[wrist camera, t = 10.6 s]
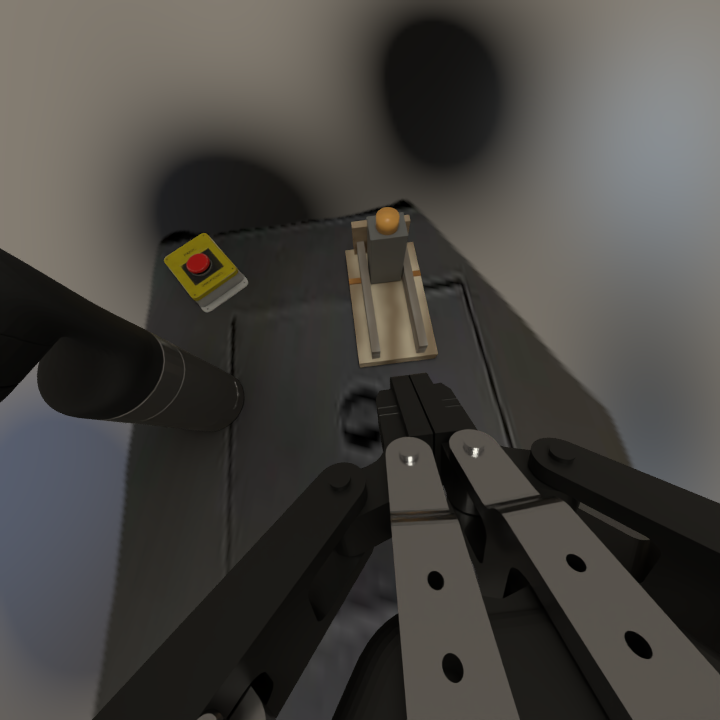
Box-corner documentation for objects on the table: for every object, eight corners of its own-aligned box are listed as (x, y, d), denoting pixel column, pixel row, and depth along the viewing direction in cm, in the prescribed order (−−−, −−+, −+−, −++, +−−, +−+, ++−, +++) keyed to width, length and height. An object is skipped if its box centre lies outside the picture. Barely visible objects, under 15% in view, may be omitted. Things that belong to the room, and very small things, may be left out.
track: (359, 367, 43) (357, 350, 35) (346, 257, 50) (341, 223, 42) (435, 358, 43) (448, 338, 35) (411, 249, 50) (418, 213, 42)
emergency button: (192, 303, 44) (149, 247, 47) (208, 316, 48) (167, 263, 52) (240, 270, 45) (195, 218, 49) (251, 285, 49) (209, 236, 53)
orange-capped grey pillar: (370, 284, 45) (370, 231, 34) (367, 264, 46) (366, 206, 35) (400, 280, 45) (409, 226, 34) (396, 260, 46) (404, 202, 35)
